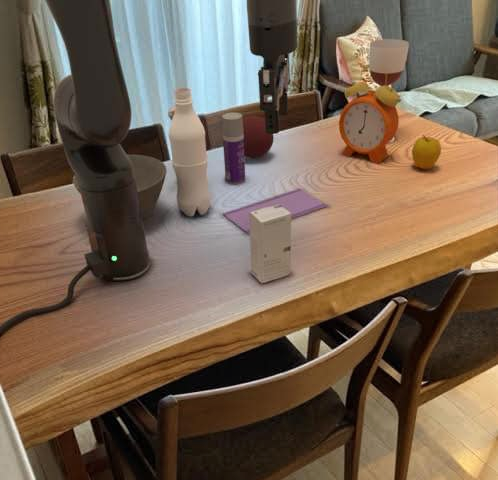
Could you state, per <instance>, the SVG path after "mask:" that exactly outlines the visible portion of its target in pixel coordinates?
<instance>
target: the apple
mask: <svg viewBox="0 0 498 480" xmlns="http://www.w3.org/2000/svg"><path fill="white" fill-rule="evenodd" d="M441 153H442V146H441V143H440V141H439V140H438V139H437V138H434V137H432V136H431V137H430V136H425V135H424V134H422V137H419V138H417V139H416V140H415V142H414V144H413V146H412V149H411V155H412V156H411V157H412V160H413V163H414V166H415V167H416V168H420V169H421V170H429V169H431V168H432V167H433V166H434V165H435V164H436V163H437V162H438V161H439V158H440V156H441Z"/></svg>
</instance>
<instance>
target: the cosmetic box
mask: <svg viewBox="0 0 498 480" xmlns="http://www.w3.org/2000/svg"><path fill="white" fill-rule="evenodd" d="M249 219H250V234H249V250H250V251H249V252H250V253H249V254H250V273H251V274H252V275H253V276H254V277H255V279H256V280H257V281H259V282H260V284H265V283H268V282H271V281H274V280H278V279H281V278H284V277H288V276H289V275H290V274H291V247H292V246H291V243H292V235H291V234H292V219H291V213H290V212H289V211H287V210H286V209H285V208H283V207H282V206H280V205H275V206H271V207H265V208H262V209H259V210H256V211H252V212H250V213H249Z"/></svg>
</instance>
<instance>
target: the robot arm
mask: <svg viewBox="0 0 498 480" xmlns="http://www.w3.org/2000/svg"><path fill="white" fill-rule="evenodd" d="M44 2H45V4H46V6H47V8H48V11H49V12H50V14H51V16H52V19H53V21H54V22H55V25H56V27H57V29H58V32H59V33H60V36H61V38H62V41H63V45H64V47H65V51H66V54H67V58H68V64H69V69H70V74H68V75H67V76H65V77H64V78H62V79H61V80H60V82H59V83H58V84H57V86H56V88H55V91H54V95H53V112H54V118H55V122H56V126H57V129H58V133H59V135H60V140H61V143H62V147H63V150H64V153H65V156H66V159H67V160H66V161H67V162H68V164H69V166H70V168H71V171H73V173H74V175H75V176H76V178H77V182H78V185H79V189H80V193H81V194H80V193H79V194H80V198H81V201H82V205H83V210H84V212H85V213H84V214H85V218H86V221H85V222H84V226H85V230H86V235H87V238H88V242H89V246H90V250H91V251H90V252H87V253H84V255H83V256H84V259H85V262H86V266H84V267H83V268H82V269H80V271H79V272H78V273H76V274H75V276H74V277H72V279H71V281H70V282H69V284H68V287H67V294H66V297H65V298H64V299H63V300H62V301H60V302H58V303H56V304H53V305H50V306H45V307H38V308H33V309H29V310H25V311H22V312H20V313H18V314H16V315H14V316H12V317H10V318H9V319H8V320H6V321H5V322H4V323H2V324H1V325H0V335H1V334H2V333H4V332H5V331H6V330H7V329H8V328H10V327H11V326H13V325H14V324H16V323H18V322H19V321H21V320H23V319H25V318H28V317H31V316H34V315H35V316H36V315H40V314H46V313H51V312H55V311H57V310H61V309H63V308H64V307H65V306H67V305H68V304H69V303H70V302H72V300H73V298H74V293H75V287H76V285H77V284H78V282H79V281H80V280H81V279H82V278H83V277H84V276H85V275H86V274H87V273H89V272H91V274H92V275H93V276H94V278H95V279H98V278H101V277H102V278H103V279H104V280H105V282H106V283H111V282H126V281H131V280H135V279H138V278H140V277H141V276H143V275H145V274H147V272H148V271H149V270H150V268H151V265H152V264H151V263H152V262H151V259H150V253H149V249H148V244H147V238H146V232H145V226H144V222H143V218H142V215H141V209H140V204H139V198H138V192H137V187H136V181H135V176H134V170H133V165H132V162H131V160H130V159H129V157H128V156H127V155H128V154H127V153H126V152H125V150H124V149H123V146H122V145H121V143H122V142H123V141H124V140H125V139H126V137H127V135H128V133H129V131H130V129H131V123H132V106H131V105H132V104H131V99H130V95H129V91H128V87H127V82H126V78H125V74H124V71H123V67H122V63H121V58H120V54H119V49H118V44H117V40H116V34H115V33H116V32H115V26H114V18H113V11H112V6H111V5H112V4H111V0H44ZM246 15H247V29H248V40H249V41H248V42H249V51H250V53H251V54H252V55H254V56H256V57H262V59H263V61H262V63H263V64H262V66H260V69H258V72H257V77H258V93H259V94H258V95H259V110H260V111H261V112H264V120H265V124H266V132H267V133H268V134H273V135H276V134H279V133H280V128H281V125H280V116H281V117H282V116H287V115H288V113H289V99H288V96H289V95H288V93H289V91H290V86H291V72H290V69H291V68H290V54H292V53H294V52H295V51H296V50H297V49H298V19H297V17H298V16H297V0H246ZM268 98H271V101H270V102H269V101H268V100H269V99H268Z"/></svg>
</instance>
